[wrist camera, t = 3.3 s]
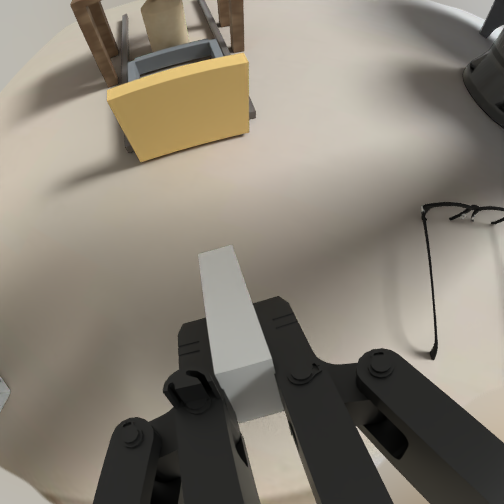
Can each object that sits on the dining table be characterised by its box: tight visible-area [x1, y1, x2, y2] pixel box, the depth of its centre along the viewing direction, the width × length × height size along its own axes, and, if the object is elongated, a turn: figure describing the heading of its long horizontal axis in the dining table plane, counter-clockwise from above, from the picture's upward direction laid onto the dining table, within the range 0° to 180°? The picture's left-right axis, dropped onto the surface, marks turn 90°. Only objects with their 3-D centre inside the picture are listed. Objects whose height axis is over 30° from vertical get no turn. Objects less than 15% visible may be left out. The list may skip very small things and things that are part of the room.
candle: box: [141, 0, 189, 52], centre depth 32 cm, size 6×6×10 cm
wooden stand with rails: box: [71, 0, 256, 153], centre depth 29 cm, size 20×34×15 cm, turn 16°
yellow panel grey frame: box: [107, 39, 249, 162], centre depth 28 cm, size 12×16×10 cm
